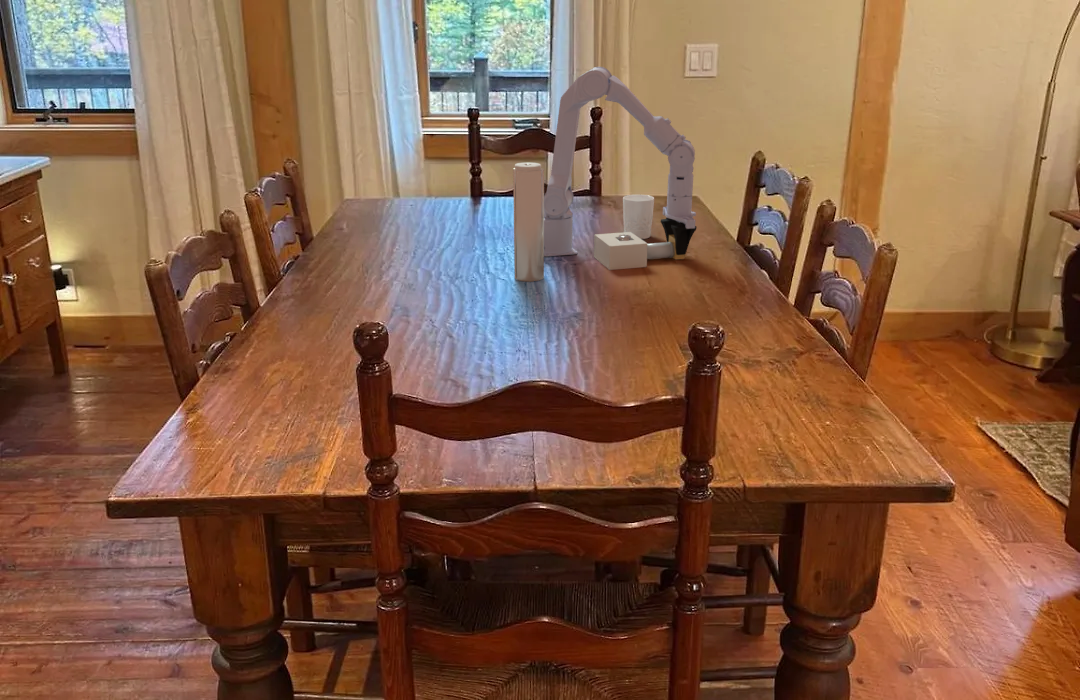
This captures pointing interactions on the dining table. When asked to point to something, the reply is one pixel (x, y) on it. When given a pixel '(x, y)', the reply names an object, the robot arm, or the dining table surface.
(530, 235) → the white tall cylinder
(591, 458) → the dining table surface
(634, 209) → the white cup
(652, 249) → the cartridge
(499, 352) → the dining table surface
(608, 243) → the housing
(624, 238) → the plunger
